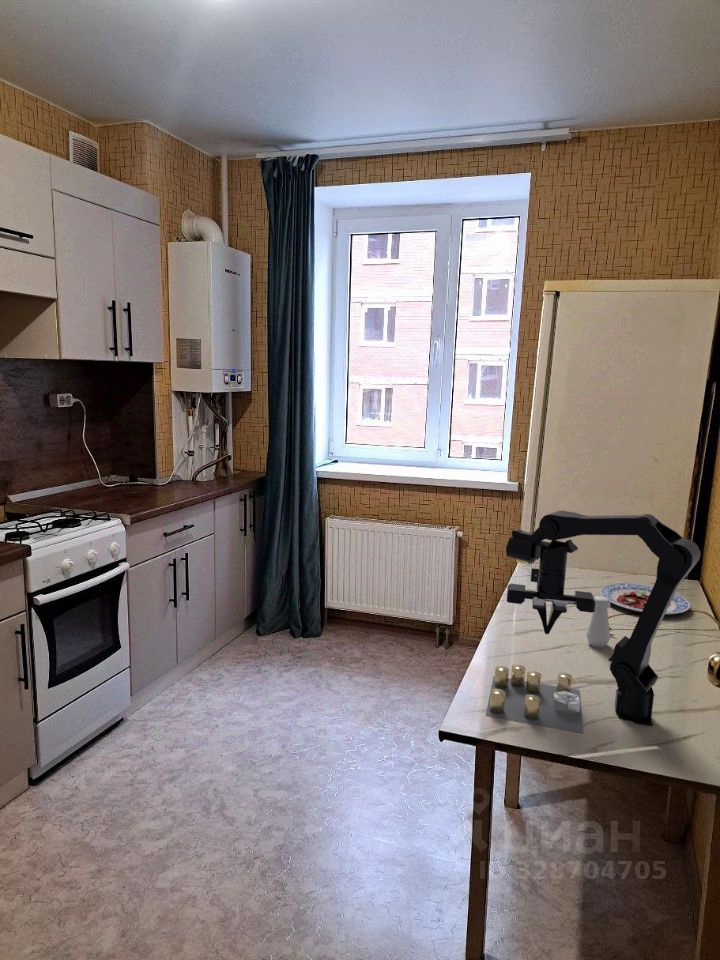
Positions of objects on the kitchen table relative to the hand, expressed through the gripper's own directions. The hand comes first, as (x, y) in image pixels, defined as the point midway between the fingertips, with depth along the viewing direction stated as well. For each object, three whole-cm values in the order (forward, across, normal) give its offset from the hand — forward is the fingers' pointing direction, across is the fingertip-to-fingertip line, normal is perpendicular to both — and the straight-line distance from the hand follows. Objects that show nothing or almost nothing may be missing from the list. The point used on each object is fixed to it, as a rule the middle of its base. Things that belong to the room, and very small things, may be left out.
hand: (546, 633), depth 142 cm
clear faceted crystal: (+12, -4, +11) cm, 17 cm away
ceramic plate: (+13, -32, -64) cm, 72 cm away
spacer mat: (+12, +2, +10) cm, 16 cm away
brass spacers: (+12, +3, +10) cm, 16 cm away
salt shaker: (+12, -15, -26) cm, 33 cm away
